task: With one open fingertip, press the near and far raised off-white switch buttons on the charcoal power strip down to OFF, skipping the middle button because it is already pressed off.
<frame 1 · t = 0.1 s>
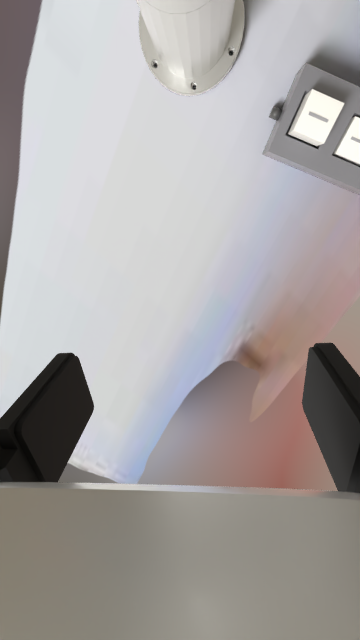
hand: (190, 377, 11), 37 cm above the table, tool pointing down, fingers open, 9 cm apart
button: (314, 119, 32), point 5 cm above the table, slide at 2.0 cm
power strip: (344, 145, 37), on the table
middle button: (354, 142, 34), point 3 cm above the table, slide at 0.0 cm
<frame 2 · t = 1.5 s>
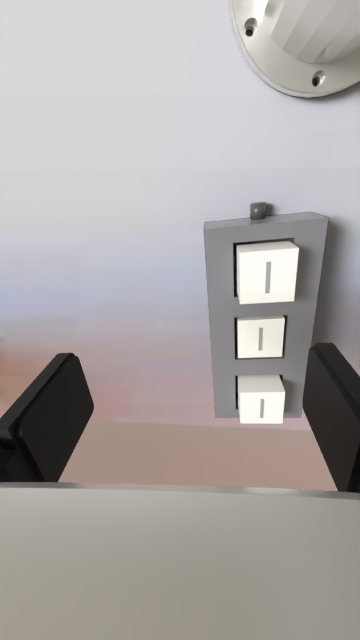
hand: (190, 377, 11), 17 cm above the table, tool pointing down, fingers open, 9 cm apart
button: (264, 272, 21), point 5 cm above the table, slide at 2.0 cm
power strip: (253, 318, 28), on the table
middle button: (258, 332, 25), point 3 cm above the table, slide at 0.0 cm
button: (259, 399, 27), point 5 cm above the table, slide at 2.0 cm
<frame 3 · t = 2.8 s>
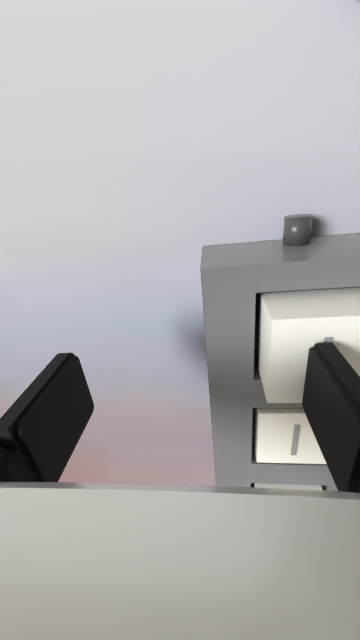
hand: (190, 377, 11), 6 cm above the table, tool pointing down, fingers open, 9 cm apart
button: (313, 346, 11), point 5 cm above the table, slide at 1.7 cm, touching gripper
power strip: (278, 388, 18), on the table
middle button: (289, 422, 16), point 3 cm above the table, slide at 0.0 cm
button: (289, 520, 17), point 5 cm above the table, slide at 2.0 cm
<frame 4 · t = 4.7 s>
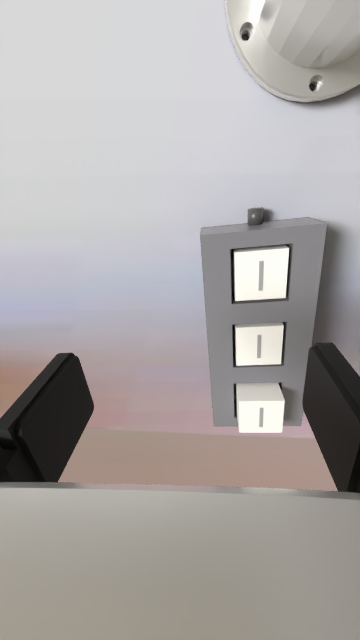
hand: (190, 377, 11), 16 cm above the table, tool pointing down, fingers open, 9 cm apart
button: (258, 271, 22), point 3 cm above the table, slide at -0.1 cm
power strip: (252, 325, 27), on the table
middle button: (256, 339, 25), point 3 cm above the table, slide at 0.0 cm
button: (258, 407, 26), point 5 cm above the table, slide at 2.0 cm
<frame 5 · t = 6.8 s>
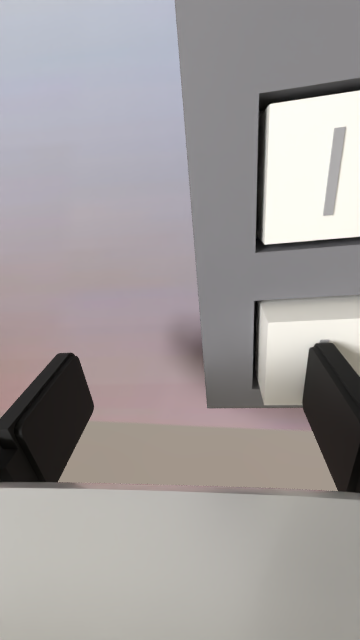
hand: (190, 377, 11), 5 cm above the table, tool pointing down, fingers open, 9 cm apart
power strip: (295, 175, 12), on the table
middle button: (318, 174, 9), point 3 cm above the table, slide at 0.0 cm
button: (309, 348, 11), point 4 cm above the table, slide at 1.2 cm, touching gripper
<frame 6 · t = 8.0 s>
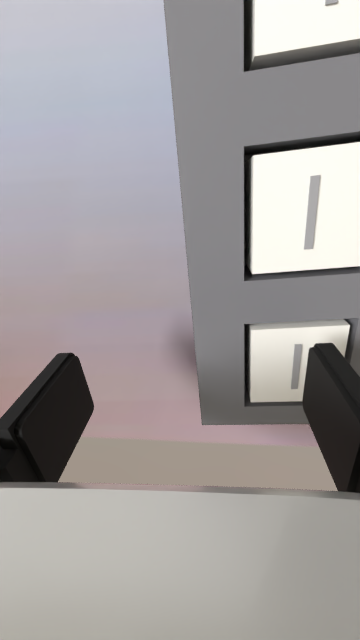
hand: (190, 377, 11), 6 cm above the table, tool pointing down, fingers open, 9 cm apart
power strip: (281, 208, 13), on the table
middle button: (300, 212, 10), point 3 cm above the table, slide at 0.0 cm
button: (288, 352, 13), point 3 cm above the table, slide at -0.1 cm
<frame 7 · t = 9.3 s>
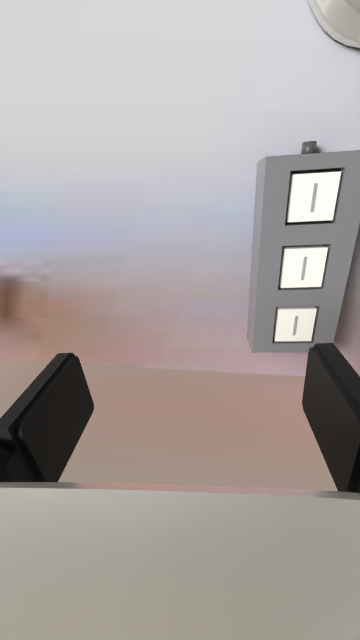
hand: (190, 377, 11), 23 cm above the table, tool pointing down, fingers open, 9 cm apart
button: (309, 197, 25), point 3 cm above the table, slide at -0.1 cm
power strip: (291, 259, 31), on the table
middle button: (299, 265, 28), point 3 cm above the table, slide at 0.0 cm
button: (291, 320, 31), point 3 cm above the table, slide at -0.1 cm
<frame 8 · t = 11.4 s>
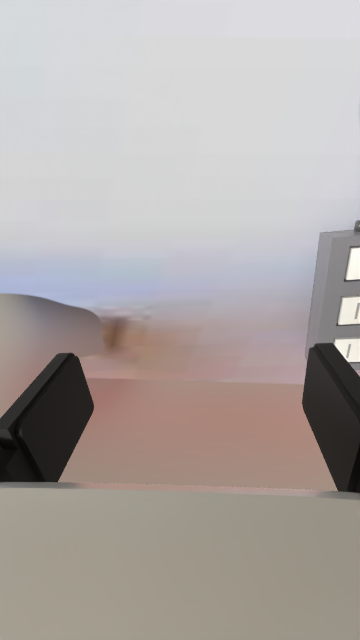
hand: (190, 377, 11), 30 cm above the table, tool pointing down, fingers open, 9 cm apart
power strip: (343, 299, 40), on the table
middle button: (352, 307, 37), point 3 cm above the table, slide at 0.0 cm
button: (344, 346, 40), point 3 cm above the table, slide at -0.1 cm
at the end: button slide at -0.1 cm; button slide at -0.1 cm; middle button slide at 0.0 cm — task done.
